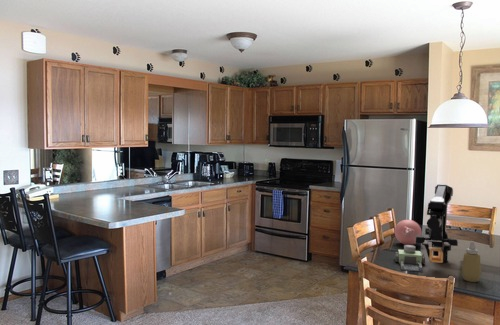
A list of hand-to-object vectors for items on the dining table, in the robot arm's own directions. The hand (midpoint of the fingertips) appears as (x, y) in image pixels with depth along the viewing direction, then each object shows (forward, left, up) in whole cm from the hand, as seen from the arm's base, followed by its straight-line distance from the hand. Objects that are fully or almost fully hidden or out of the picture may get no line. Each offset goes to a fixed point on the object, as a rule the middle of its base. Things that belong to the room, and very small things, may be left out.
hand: (435, 257), depth 208 cm
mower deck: (+11, -11, -6) cm, 17 cm away
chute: (0, 0, -1) cm, 1 cm away
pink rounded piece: (+10, -47, -6) cm, 49 cm away
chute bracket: (+11, -1, -6) cm, 13 cm away
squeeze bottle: (-14, +11, -6) cm, 19 cm away
